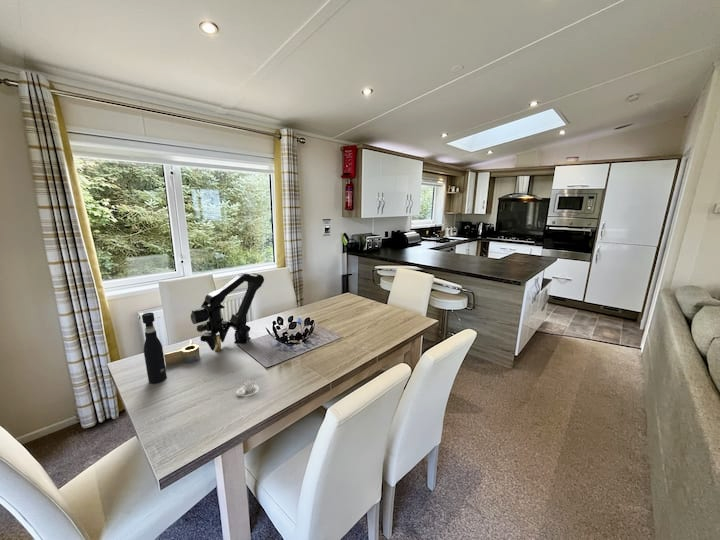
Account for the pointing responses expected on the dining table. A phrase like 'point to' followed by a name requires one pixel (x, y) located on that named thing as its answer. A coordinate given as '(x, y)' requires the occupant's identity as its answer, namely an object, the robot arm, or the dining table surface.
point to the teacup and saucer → (247, 388)
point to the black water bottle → (153, 352)
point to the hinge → (183, 355)
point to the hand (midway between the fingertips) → (217, 346)
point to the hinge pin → (218, 343)
